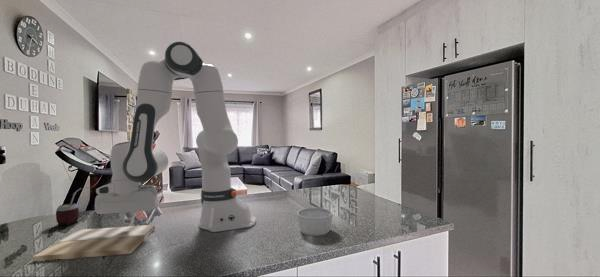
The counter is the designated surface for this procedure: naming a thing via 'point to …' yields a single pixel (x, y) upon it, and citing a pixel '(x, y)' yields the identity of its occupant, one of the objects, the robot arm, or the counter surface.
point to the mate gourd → (67, 213)
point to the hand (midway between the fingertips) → (128, 223)
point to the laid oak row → (89, 248)
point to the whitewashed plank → (110, 233)
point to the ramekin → (314, 221)
